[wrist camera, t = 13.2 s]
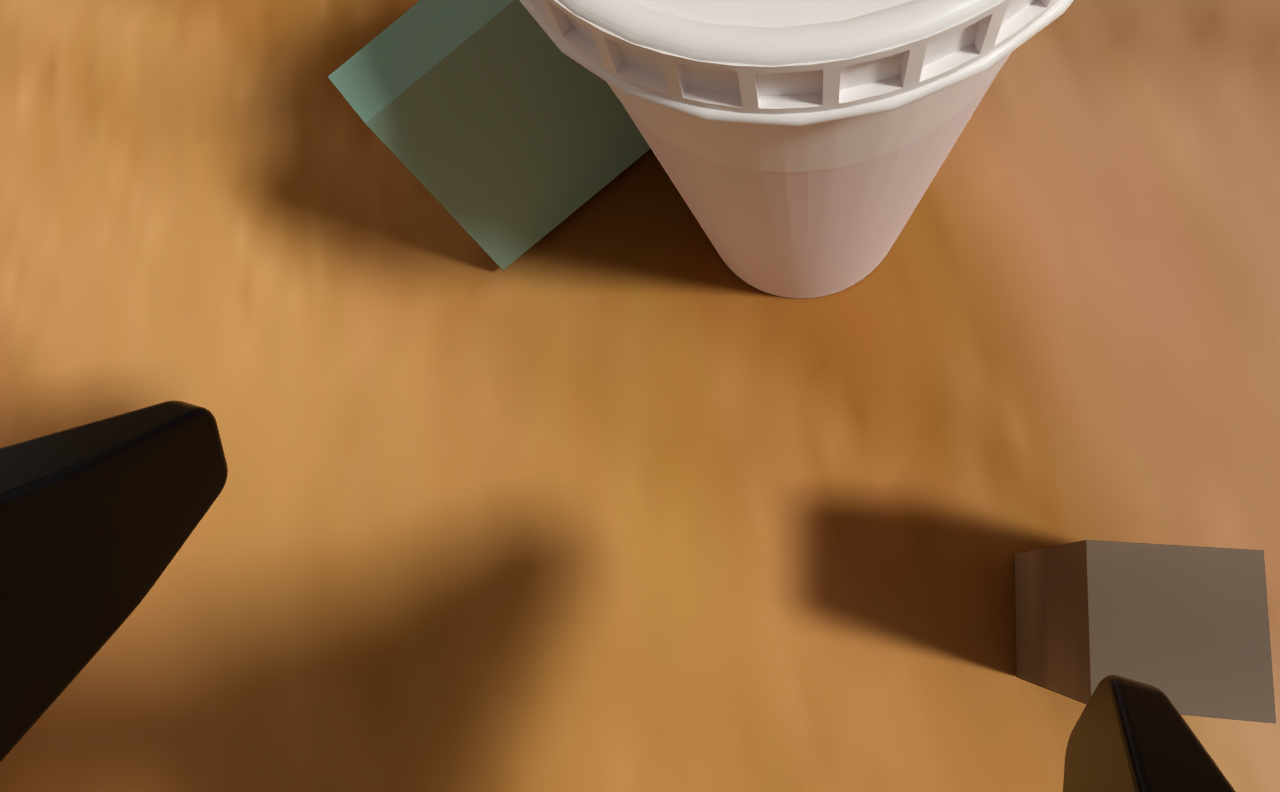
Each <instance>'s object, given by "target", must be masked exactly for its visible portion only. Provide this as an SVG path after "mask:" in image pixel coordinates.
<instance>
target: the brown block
mask: <svg viewBox="0 0 1280 792" xmlns="http://www.w3.org/2000/svg"><path fill="white" fill-rule="evenodd" d="M1015 615H1016V677H1018V678H1020V679H1023V680H1025V681H1028V682H1030V683H1033V684H1036V685H1038V686H1041V687H1043V688H1046V689H1048V690H1051V691H1053V692H1056V693H1059V694H1061V695H1064V696H1066V697H1069V698H1071V699H1074V700H1076V701H1079V702H1082V703H1084V704H1087V703H1088V702H1089V700H1090V698H1091V696H1092V694H1093V693H1094V691H1095V689H1096V687H1097V685H1098V684H1099V682H1100V681H1101V680H1102V679H1103V678H1105V677H1106V676H1108V675H1118V676H1121V677H1125V678H1128V679H1131V680H1135V681H1138V682H1142V683H1145V684H1148V685H1152V686H1154V687H1157V688H1158V689H1160V690H1161V691H1162V692H1163V693H1164V694H1166V696H1167V697H1168V698H1169V699H1170V701H1171V702H1172V704H1173V705H1174V706H1175V708H1176V709H1177V711H1178V712H1179V713H1180V715H1190V716H1200V717H1211V718H1222V719H1233V720H1243V721H1254V722H1265V723H1276V716H1275V702H1274V688H1273V674H1272V660H1271V646H1270V632H1269V619H1268V605H1267V591H1266V577H1265V563H1264V550H1247V549H1230V548H1213V547H1196V546H1179V545H1163V544H1146V543H1129V542H1112V541H1095V540H1084V541H1079V542H1074V543H1068V544H1063V545H1058V546H1053V547H1048V548H1043V549H1038V550H1033V551H1028V552H1023V553H1018V554H1015Z"/></svg>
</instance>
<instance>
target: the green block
mask: <svg viewBox="0 0 1280 792" xmlns="http://www.w3.org/2000/svg"><path fill="white" fill-rule="evenodd" d="M328 78H329V79H330V80H331V82H332V83H333V84H334V85H335V87H336V88H337V89H338V90H339V92H340V93H341V94H342V95H343V97H344V98H345V99H346V100H347V102H348V103H349V104H350V105H351V107H352V108H353V109H354V110H355V112H356V113H357V114H358V115H359V117H360V118H361V119H362V120H363V122H364V123H365V124H366V125H367V126H368V127H369V128H370V129H371V130H372V131H373V132H374V134H375V135H376V136H377V137H378V138H379V139H380V140H381V141H382V142H383V143H384V144H385V145H386V146H387V147H388V148H389V150H390V151H391V152H392V153H393V154H394V155H395V156H396V157H397V158H398V159H399V160H400V161H401V162H402V163H403V164H404V166H405V167H406V168H407V169H408V170H409V171H410V172H411V173H412V174H413V175H414V176H415V177H416V178H417V179H418V180H419V182H420V183H421V184H422V185H423V186H424V187H425V188H426V189H427V190H428V191H429V192H430V193H431V194H432V195H433V196H434V198H435V199H436V200H437V201H438V202H439V203H440V204H441V205H442V206H443V207H444V208H445V209H446V210H447V211H448V213H449V214H450V215H451V216H452V217H453V218H454V219H455V220H456V221H457V222H458V223H459V224H460V225H461V226H462V227H463V229H464V230H465V231H466V232H467V233H468V234H469V235H470V236H471V237H472V238H473V239H474V240H475V241H476V242H477V243H478V245H479V246H480V247H481V248H482V249H483V250H484V251H485V252H486V253H487V254H488V255H489V256H490V257H491V258H492V259H493V261H494V262H495V263H496V264H497V265H498V266H499V267H500V268H501V269H502V270H504V269H505V268H507V267H508V266H509V265H510V264H511V263H513V262H514V261H515V260H516V259H518V258H519V257H520V256H521V255H522V254H524V253H525V252H526V251H527V250H528V249H530V248H531V247H532V246H533V245H534V244H536V243H537V242H538V241H539V240H540V239H542V238H543V237H544V236H545V235H547V234H548V233H549V232H550V231H551V230H553V229H554V228H555V227H556V226H557V225H559V224H560V223H561V222H562V221H563V220H565V219H566V218H567V217H568V216H570V215H571V214H572V213H573V212H574V211H576V210H577V209H578V208H579V207H580V206H582V205H583V204H584V203H585V202H586V201H588V200H589V199H590V198H591V197H593V196H594V195H595V194H596V193H597V192H599V191H600V190H601V189H602V188H603V187H605V186H606V185H607V184H608V183H609V182H611V181H612V180H613V179H614V178H616V177H617V176H618V175H619V174H620V173H622V172H623V171H624V170H625V169H626V168H628V167H629V166H630V165H631V164H632V163H634V162H635V161H636V160H637V159H639V158H640V157H641V156H642V155H643V154H645V153H646V152H647V151H648V150H649V149H651V148H650V147H649V145H648V143H647V142H646V140H645V139H644V137H643V136H642V134H641V133H640V131H639V130H638V128H637V126H636V125H635V123H634V122H633V120H632V119H631V117H630V116H629V114H628V112H627V111H626V109H625V108H624V106H623V105H622V103H621V102H620V100H619V99H618V98H617V96H616V95H615V94H614V92H613V91H612V89H611V88H610V86H609V85H608V83H607V82H606V81H605V80H603V79H602V78H600V77H599V76H597V75H596V74H594V73H592V72H591V71H589V70H588V69H586V68H585V67H583V66H582V65H580V64H579V63H577V62H576V61H574V60H573V59H571V58H570V57H568V56H567V55H565V54H564V53H562V52H561V51H560V49H559V48H558V47H557V46H556V45H555V43H554V42H553V41H552V40H551V38H550V37H549V36H548V35H547V34H546V32H545V31H544V30H543V29H542V27H541V26H540V25H539V24H538V23H537V21H536V20H535V19H534V18H533V16H532V15H531V14H530V13H529V12H528V10H527V9H526V8H525V7H524V5H523V4H522V3H521V2H520V1H519V0H420V1H419V2H417V3H416V4H415V5H414V6H413V7H411V8H410V9H409V10H408V11H406V12H405V13H404V14H403V15H402V16H400V17H399V18H398V19H397V20H396V21H394V22H393V23H392V24H391V25H390V26H388V27H387V28H386V29H385V30H384V31H382V32H381V33H380V34H379V35H377V36H376V37H375V38H374V39H373V40H371V41H370V42H369V43H368V44H367V45H365V46H364V47H363V48H362V49H361V50H359V51H358V52H357V53H356V54H355V55H353V56H352V57H351V58H350V59H348V60H347V61H346V62H345V63H344V64H342V65H341V66H340V67H339V68H338V69H336V70H335V71H334V72H333V73H332V74H330V75H329V76H328Z"/></svg>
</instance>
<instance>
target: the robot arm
mask: <svg viewBox="0 0 1280 792" xmlns="http://www.w3.org/2000/svg"><path fill="white" fill-rule="evenodd" d="M227 472H228V469H227V463H226V459H225V455H224V451H223V447H222V443H221V439H220V435H219V431H218V427H217V422H216V420H215V417H214V416H213V414H212V413H211V412H210V411H209V410H207V409H205V408H202V407H199V406H196V405H192V404H189V403H185V402H182V401H168V402H164V403H160V404H157V405H153V406H150V407H146V408H142V409H139V410H135V411H132V412H128V413H125V414H121V415H118V416H114V417H110V418H107V419H103V420H100V421H96V422H93V423H89V424H86V425H82V426H78V427H75V428H71V429H68V430H64V431H61V432H57V433H54V434H50V435H46V436H43V437H39V438H36V439H32V440H29V441H25V442H22V443H18V444H14V445H11V446H7V447H4V448H0V762H1V761H2V760H3V759H4V758H5V757H6V755H7V754H8V753H9V752H10V751H11V750H12V749H13V747H14V746H15V745H16V744H17V743H18V742H19V741H20V740H21V738H22V737H23V736H24V735H25V734H26V733H27V732H28V730H29V729H30V728H31V727H32V726H33V725H34V724H35V722H36V721H37V720H38V719H39V718H40V717H41V716H42V714H43V713H44V712H45V711H46V710H47V709H48V708H49V707H50V705H51V704H52V703H53V702H54V701H55V700H56V699H57V697H58V696H59V695H60V694H61V693H62V692H63V691H64V689H65V688H66V687H67V686H68V685H69V684H70V683H71V682H72V680H73V679H74V678H75V677H76V676H77V675H78V674H79V672H80V671H81V670H82V669H83V668H84V667H85V666H86V664H87V663H88V662H89V661H90V660H91V659H92V658H93V656H94V655H95V654H96V653H97V652H98V651H99V650H100V649H101V647H102V646H103V645H104V644H105V643H106V642H107V641H108V639H109V638H110V637H111V636H112V635H113V634H114V633H115V631H116V630H117V629H118V628H119V627H120V626H121V625H122V624H123V622H124V621H125V620H126V619H127V618H128V616H129V615H130V614H131V613H132V612H133V611H134V609H135V608H136V607H137V606H138V605H139V603H140V602H141V601H142V599H143V598H144V597H145V596H146V594H147V593H148V592H149V590H150V589H151V588H152V586H153V585H154V584H155V582H156V581H157V580H158V578H159V577H160V575H161V574H162V573H163V571H164V570H165V569H166V567H167V566H168V564H169V563H170V562H171V560H172V559H173V558H174V556H175V555H176V553H177V552H178V551H179V549H180V548H181V546H182V545H183V544H184V542H185V541H186V540H187V538H188V537H189V535H190V534H191V533H192V531H193V530H194V529H195V527H196V526H197V524H198V523H199V522H200V520H201V519H202V518H203V516H204V515H205V513H206V512H207V511H208V509H209V508H210V506H211V505H212V504H213V502H214V501H215V500H216V498H217V497H218V495H219V494H220V493H221V491H222V489H223V487H224V485H225V483H226V479H227ZM1063 792H1236V791H1235V790H1234V789H1233V787H1232V786H1231V784H1230V783H1229V782H1228V780H1227V779H1226V778H1225V776H1224V775H1223V773H1222V772H1221V771H1220V769H1219V768H1218V766H1217V765H1216V764H1215V762H1214V761H1213V759H1212V758H1211V757H1210V755H1209V754H1208V752H1207V751H1206V750H1205V748H1204V747H1203V745H1202V744H1201V743H1200V741H1199V740H1198V738H1197V737H1196V736H1195V734H1194V733H1193V731H1192V730H1191V729H1190V727H1189V726H1188V724H1187V723H1186V722H1185V720H1184V719H1183V718H1182V716H1181V715H1180V713H1179V712H1178V711H1177V709H1176V708H1175V706H1174V705H1173V704H1172V702H1171V701H1170V699H1169V698H1168V697H1167V696H1166V694H1164V693H1163V692H1162V691H1161V690H1160V689H1158V688H1157V687H1154V686H1152V685H1148V684H1145V683H1142V682H1138V681H1135V680H1131V679H1128V678H1125V677H1121V676H1118V675H1108V676H1106V677H1105V678H1103V679H1102V680H1101V681H1100V682H1099V684H1098V685H1097V687H1096V689H1095V691H1094V693H1093V694H1092V696H1091V698H1090V700H1089V702H1088V703H1087V705H1086V707H1085V709H1084V711H1083V712H1082V714H1081V716H1080V718H1079V719H1078V721H1077V723H1076V725H1075V727H1074V728H1073V730H1072V732H1071V735H1070V738H1069V741H1068V745H1067V749H1066V755H1065V767H1064V783H1063Z"/></svg>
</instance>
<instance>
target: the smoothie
mask: <svg viewBox="0 0 1280 792" xmlns="http://www.w3.org/2000/svg"><path fill="white" fill-rule="evenodd" d="M519 1H520V2H521V3H522V4H523V5H524V7H525V8H526V9H527V10H528V12H529V13H530V14H531V15H532V16H533V18H534V19H535V20H536V21H537V23H538V24H539V25H540V26H541V27H542V29H543V30H544V31H545V32H546V34H547V35H548V36H549V37H550V38H551V40H552V41H553V42H554V43H555V45H556V46H557V47H558V48H559V49H560V51H561V52H562V53H564V54H565V55H567V56H568V57H570V58H571V59H573V60H574V61H576V62H577V63H579V64H580V65H582V66H583V67H585V68H586V69H588V70H589V71H591V72H592V73H594V74H596V75H597V76H599V77H600V78H602V79H603V80H605V81H606V82H607V83H608V85H609V86H610V88H611V89H612V91H613V92H614V94H615V95H616V96H617V98H618V99H619V100H620V102H621V103H622V105H623V106H624V108H625V109H626V111H627V112H628V114H629V116H630V117H631V119H632V120H633V122H634V123H635V125H636V126H637V128H638V130H639V131H640V133H641V134H642V136H643V137H644V139H645V140H646V142H647V143H648V145H649V147H650V148H651V150H652V151H653V153H654V154H655V156H656V157H657V159H658V161H659V162H660V164H661V165H662V167H663V168H664V170H665V171H666V173H667V175H668V176H669V178H670V179H671V181H672V182H673V184H674V185H675V187H676V188H677V190H678V192H679V193H680V195H681V196H682V198H683V199H684V201H685V202H686V204H687V206H688V207H689V209H690V210H691V212H692V213H693V215H694V216H695V218H696V220H697V221H698V223H699V224H700V226H701V227H702V229H703V230H704V232H705V233H706V235H707V237H708V238H709V240H710V241H711V243H712V244H713V246H714V247H715V249H716V251H717V252H718V254H719V255H720V257H721V258H722V260H723V261H724V262H725V264H726V265H727V266H728V267H729V268H730V270H732V271H733V272H734V273H735V274H736V275H737V276H738V277H739V278H741V279H742V280H743V281H745V282H746V283H748V284H749V285H751V286H753V287H755V288H757V289H759V290H761V291H764V292H766V293H769V294H773V295H776V296H781V297H786V298H815V297H821V296H826V295H830V294H833V293H836V292H839V291H841V290H844V289H846V288H848V287H850V286H852V285H854V284H856V283H857V282H859V281H860V280H862V279H863V278H864V277H866V276H867V275H868V274H870V273H871V272H872V271H873V270H874V269H875V268H876V267H877V266H878V265H879V264H880V263H881V261H882V260H883V259H884V258H885V256H886V255H887V253H888V252H889V250H890V249H891V247H892V246H893V244H894V242H895V241H896V239H897V237H898V236H899V234H900V232H901V231H902V229H903V227H904V226H905V224H906V223H907V221H908V219H909V218H910V216H911V214H912V213H913V211H914V209H915V208H916V206H917V205H918V203H919V201H920V200H921V198H922V196H923V195H924V193H925V191H926V190H927V188H928V187H929V185H930V183H931V182H932V180H933V178H934V177H935V175H936V173H937V172H938V170H939V168H940V167H941V165H942V164H943V162H944V160H945V159H946V157H947V155H948V154H949V152H950V150H951V149H952V147H953V146H954V144H955V142H956V141H957V139H958V137H959V136H960V134H961V132H962V131H963V129H964V127H965V126H966V124H967V123H968V121H969V119H970V118H971V116H972V114H973V113H974V111H975V109H976V108H977V106H978V105H979V103H980V101H981V100H982V98H983V96H984V95H985V93H986V91H987V90H988V88H989V86H990V85H991V83H992V82H993V80H994V78H995V77H996V75H997V73H998V72H999V70H1000V69H1001V67H1002V66H1003V65H1004V63H1005V62H1006V60H1007V59H1008V58H1009V56H1010V54H1011V53H1012V51H1013V50H1015V49H1016V48H1017V47H1019V46H1020V45H1022V44H1023V43H1024V42H1026V41H1027V40H1028V39H1030V38H1031V37H1032V36H1034V35H1035V34H1036V33H1038V32H1039V31H1040V30H1042V29H1043V28H1044V27H1046V26H1047V25H1048V24H1050V23H1051V22H1052V21H1054V20H1055V19H1056V18H1058V17H1059V16H1060V15H1062V14H1063V13H1064V12H1065V11H1066V10H1067V8H1068V7H1069V6H1070V5H1071V3H1072V2H1073V1H1074V0H519Z"/></svg>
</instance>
